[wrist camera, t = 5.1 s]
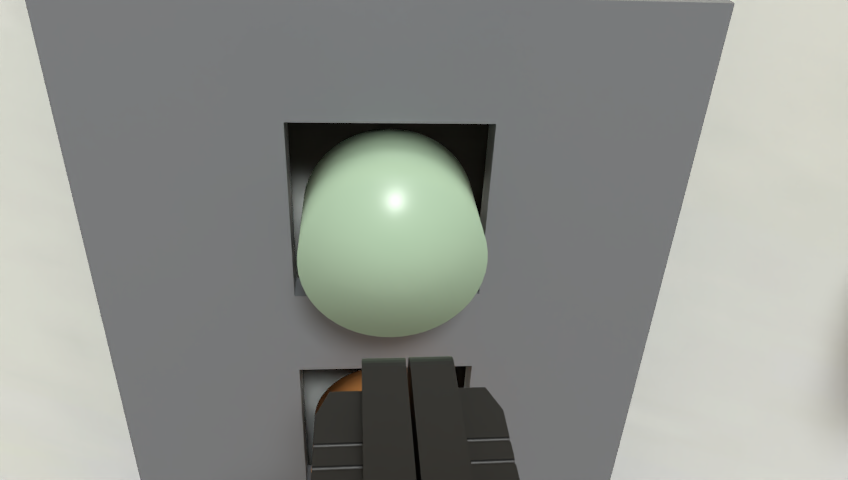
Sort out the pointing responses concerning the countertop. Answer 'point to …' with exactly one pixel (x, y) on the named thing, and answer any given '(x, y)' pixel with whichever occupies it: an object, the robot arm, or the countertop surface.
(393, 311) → the green button
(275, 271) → the button box
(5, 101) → the countertop surface
